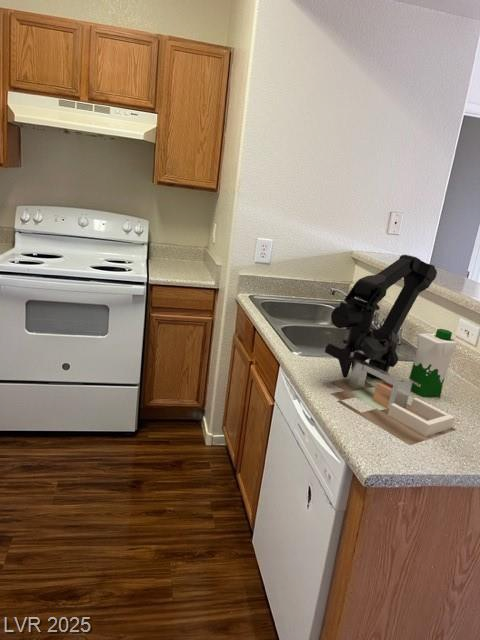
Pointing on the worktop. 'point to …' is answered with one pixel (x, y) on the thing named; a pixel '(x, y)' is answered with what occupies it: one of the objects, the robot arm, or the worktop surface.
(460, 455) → the worktop surface
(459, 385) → the worktop surface
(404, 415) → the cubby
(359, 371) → the grey bridge
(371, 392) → the board
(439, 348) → the milk carton
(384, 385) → the cube
